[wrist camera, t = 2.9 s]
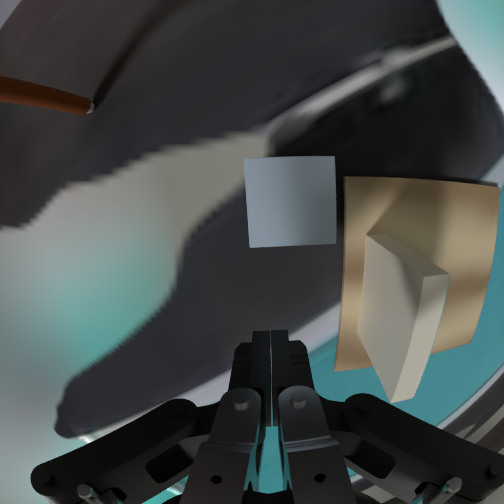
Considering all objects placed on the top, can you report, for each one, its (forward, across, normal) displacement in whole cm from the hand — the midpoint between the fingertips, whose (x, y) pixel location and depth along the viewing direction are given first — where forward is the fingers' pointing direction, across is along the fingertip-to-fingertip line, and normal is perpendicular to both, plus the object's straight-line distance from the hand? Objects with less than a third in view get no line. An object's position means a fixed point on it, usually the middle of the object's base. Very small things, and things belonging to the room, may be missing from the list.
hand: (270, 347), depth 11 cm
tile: (+6, -7, 0) cm, 9 cm away
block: (+6, -1, -6) cm, 9 cm away
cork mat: (+6, -12, 0) cm, 13 cm away
